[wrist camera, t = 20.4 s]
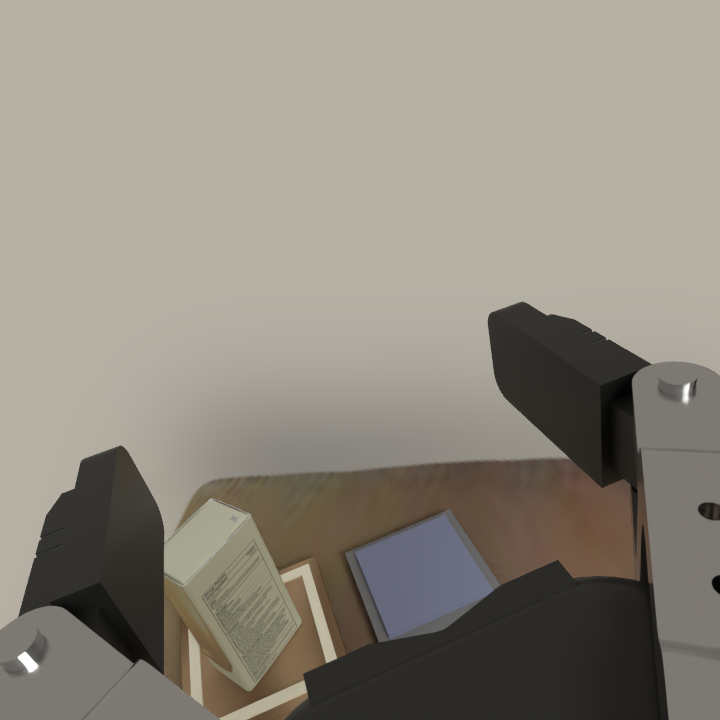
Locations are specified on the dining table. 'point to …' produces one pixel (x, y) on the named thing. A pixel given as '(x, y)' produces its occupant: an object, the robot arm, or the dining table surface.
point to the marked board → (285, 676)
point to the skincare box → (229, 592)
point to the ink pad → (420, 577)
